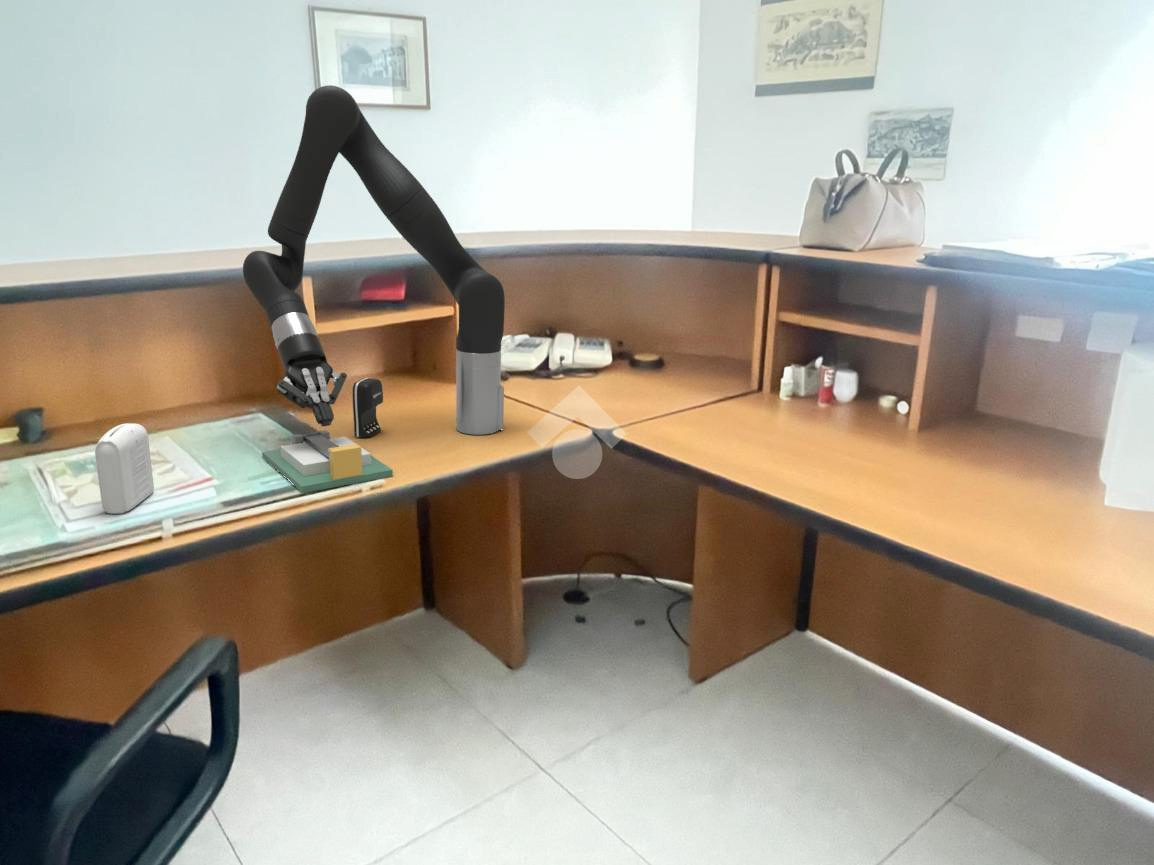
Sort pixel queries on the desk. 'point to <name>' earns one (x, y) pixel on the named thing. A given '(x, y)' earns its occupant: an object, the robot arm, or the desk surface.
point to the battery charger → (366, 406)
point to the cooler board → (324, 477)
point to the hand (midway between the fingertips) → (327, 423)
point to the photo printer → (124, 468)
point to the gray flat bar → (319, 442)
